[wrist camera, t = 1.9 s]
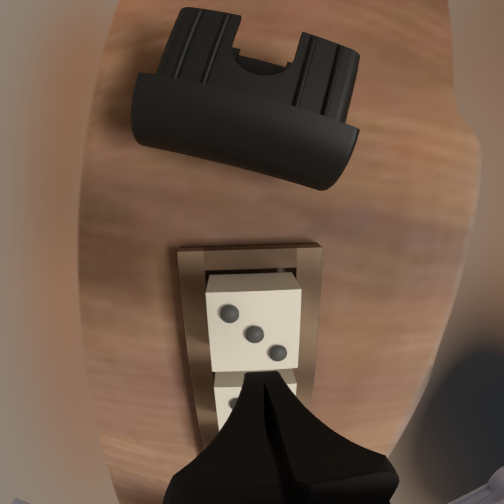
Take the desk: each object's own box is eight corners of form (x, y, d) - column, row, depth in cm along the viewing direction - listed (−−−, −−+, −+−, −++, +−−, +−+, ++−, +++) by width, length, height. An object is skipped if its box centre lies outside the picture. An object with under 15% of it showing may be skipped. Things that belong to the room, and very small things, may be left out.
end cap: (154, 149, 18) (116, 138, 12) (186, 48, 17) (166, -2, 10) (308, 188, 20) (344, 196, 13) (335, 87, 18) (378, 54, 11)
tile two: (286, 409, 22) (293, 438, 19) (221, 413, 22) (220, 442, 19) (289, 357, 21) (297, 385, 18) (216, 361, 21) (213, 389, 18)
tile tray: (301, 455, 25) (303, 464, 24) (207, 460, 25) (207, 469, 24) (317, 243, 20) (322, 247, 19) (180, 247, 20) (176, 252, 19)
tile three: (289, 343, 21) (298, 369, 18) (214, 346, 20) (212, 373, 17) (291, 272, 19) (302, 290, 16) (209, 274, 19) (204, 294, 16)
